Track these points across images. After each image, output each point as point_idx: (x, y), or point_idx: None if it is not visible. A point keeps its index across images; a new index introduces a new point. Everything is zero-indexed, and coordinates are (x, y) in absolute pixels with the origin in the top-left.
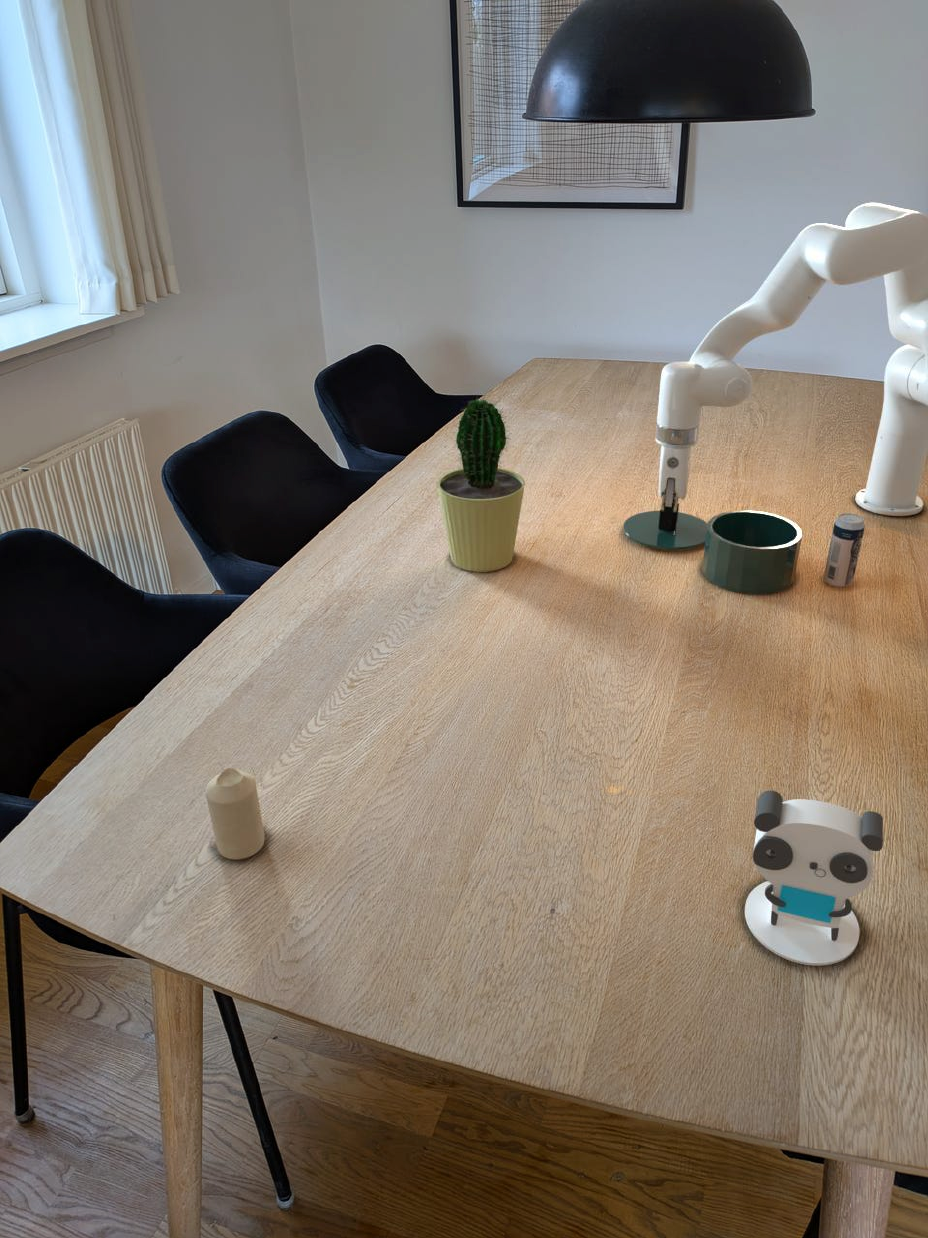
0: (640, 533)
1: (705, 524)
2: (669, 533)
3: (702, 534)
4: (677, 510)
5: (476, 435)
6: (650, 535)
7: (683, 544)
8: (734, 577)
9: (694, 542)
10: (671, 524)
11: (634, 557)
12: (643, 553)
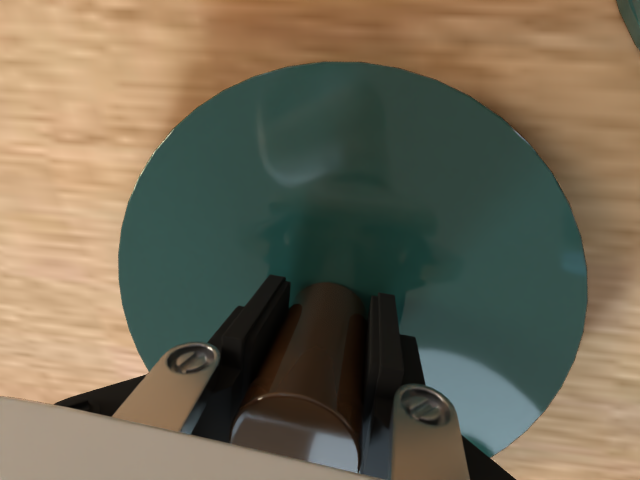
0: None
1: (248, 101)
2: None
3: (399, 128)
4: (268, 320)
5: None
6: None
7: (549, 254)
8: None
9: (520, 187)
10: (416, 345)
11: (599, 458)
12: (556, 420)
